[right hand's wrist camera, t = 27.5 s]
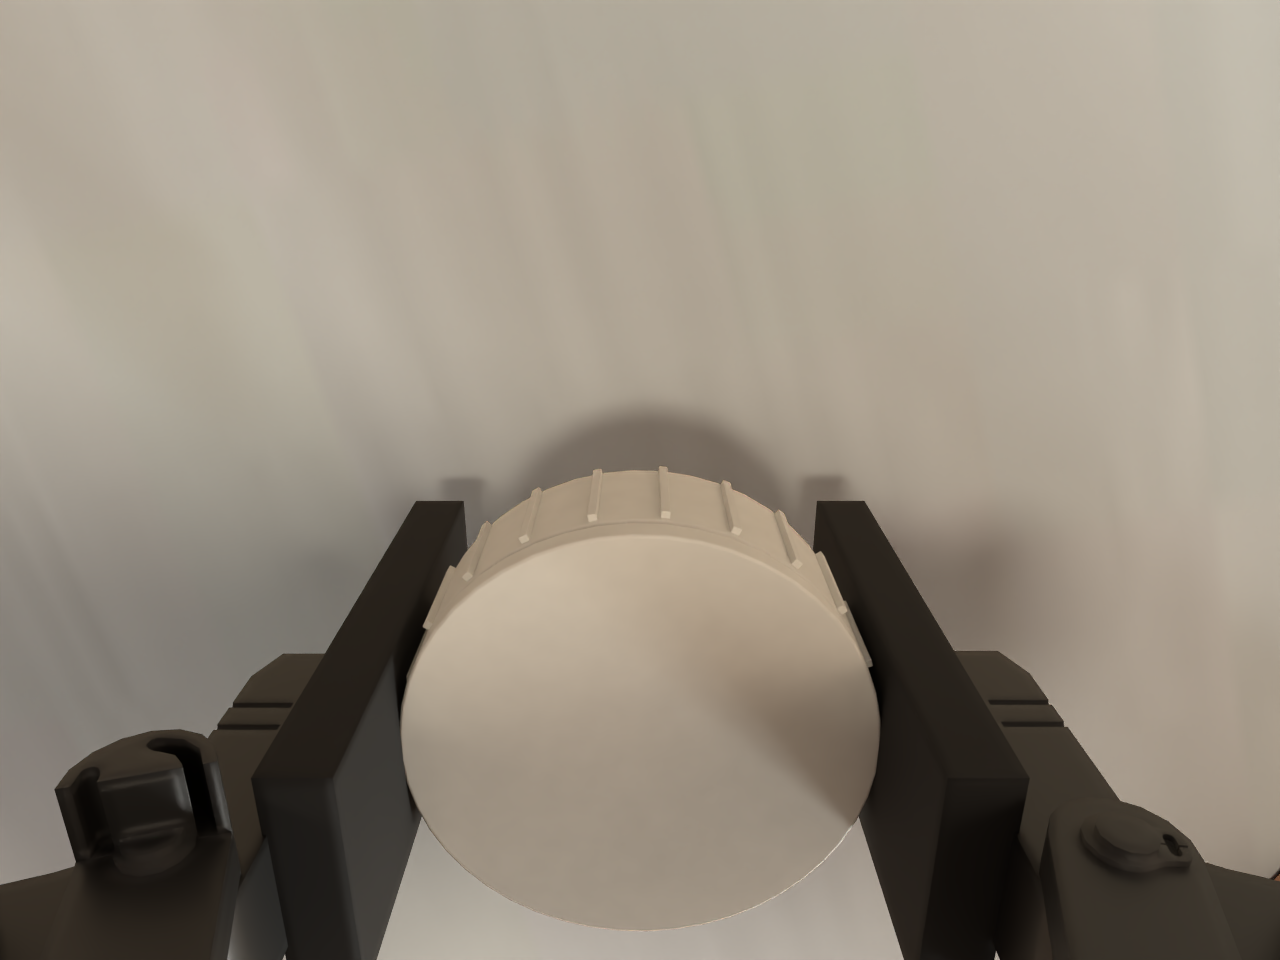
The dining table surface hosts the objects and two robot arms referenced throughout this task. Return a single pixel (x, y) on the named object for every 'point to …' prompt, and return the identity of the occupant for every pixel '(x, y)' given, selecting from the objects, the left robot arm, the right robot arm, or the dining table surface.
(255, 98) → the dining table surface
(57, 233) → the dining table surface
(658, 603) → the lid
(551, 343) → the dining table surface
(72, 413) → the dining table surface
